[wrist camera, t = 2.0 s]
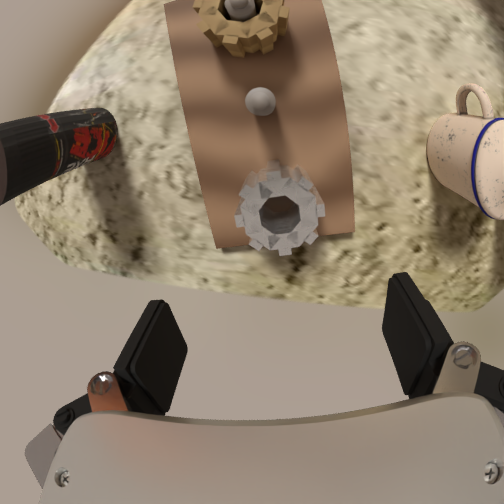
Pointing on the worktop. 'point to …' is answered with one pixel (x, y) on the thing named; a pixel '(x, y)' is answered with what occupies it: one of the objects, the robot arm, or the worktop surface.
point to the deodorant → (51, 147)
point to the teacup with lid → (470, 153)
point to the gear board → (261, 104)
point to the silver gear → (285, 222)
